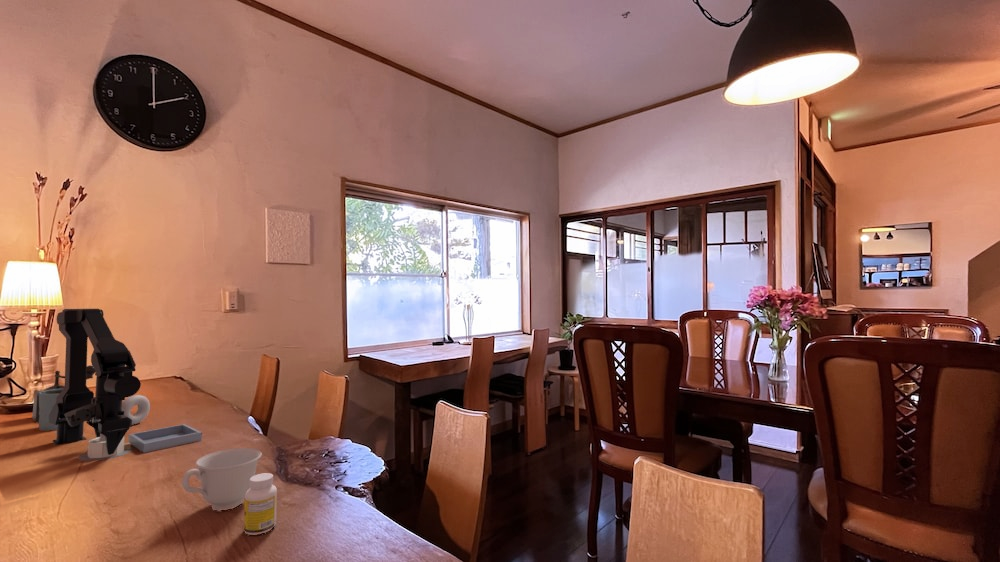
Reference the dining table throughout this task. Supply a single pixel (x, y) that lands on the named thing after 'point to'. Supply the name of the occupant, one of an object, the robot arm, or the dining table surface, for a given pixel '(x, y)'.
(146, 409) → the donut
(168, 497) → the dining table surface
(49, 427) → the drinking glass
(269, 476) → the supplement bottle
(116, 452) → the ring
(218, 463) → the teacup
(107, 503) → the dining table surface
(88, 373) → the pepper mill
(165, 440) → the tray
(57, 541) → the dining table surface
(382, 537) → the dining table surface
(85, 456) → the stake
